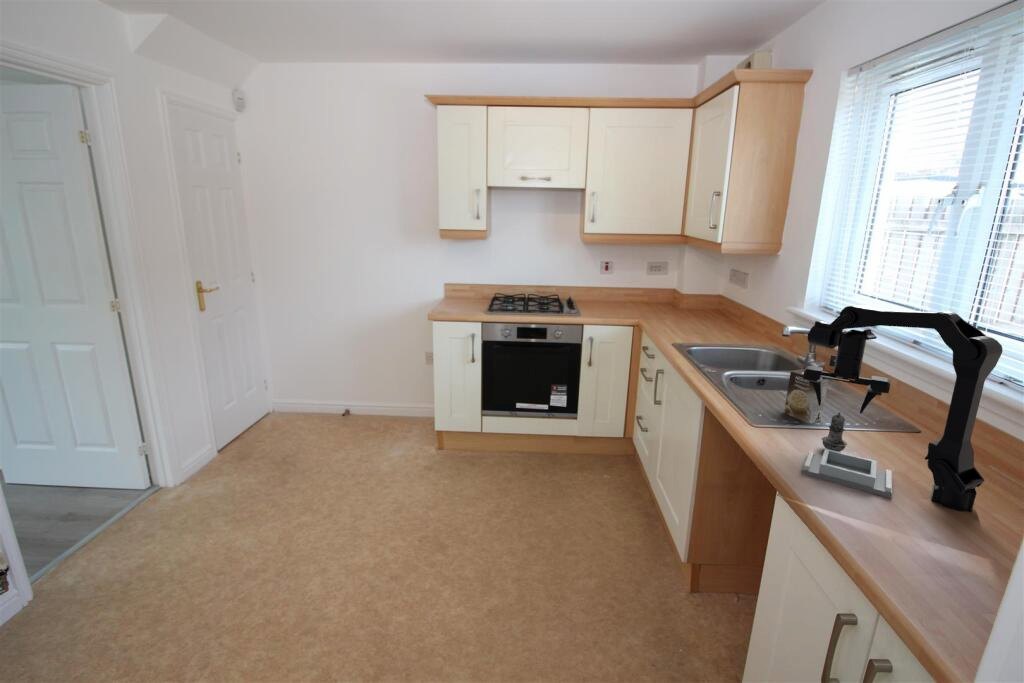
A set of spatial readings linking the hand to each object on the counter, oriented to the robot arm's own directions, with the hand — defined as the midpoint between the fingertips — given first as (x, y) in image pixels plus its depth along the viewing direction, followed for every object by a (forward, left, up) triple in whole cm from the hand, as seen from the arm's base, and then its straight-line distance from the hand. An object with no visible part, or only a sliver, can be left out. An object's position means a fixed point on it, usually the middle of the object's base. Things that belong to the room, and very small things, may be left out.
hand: (839, 409), depth 131 cm
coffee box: (+10, -21, -13) cm, 27 cm away
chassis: (-4, +13, -13) cm, 19 cm away
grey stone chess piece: (0, 0, -13) cm, 13 cm away
